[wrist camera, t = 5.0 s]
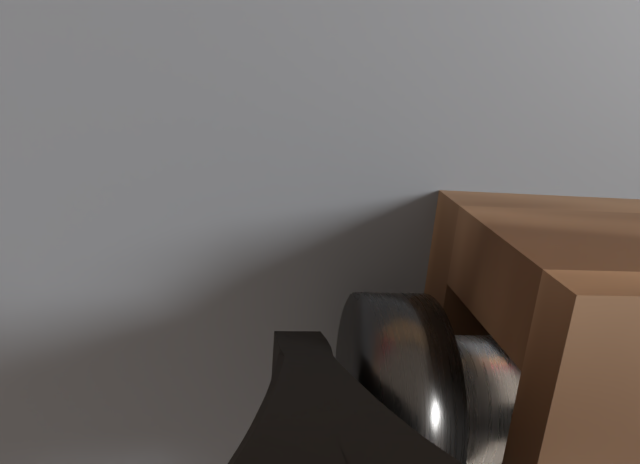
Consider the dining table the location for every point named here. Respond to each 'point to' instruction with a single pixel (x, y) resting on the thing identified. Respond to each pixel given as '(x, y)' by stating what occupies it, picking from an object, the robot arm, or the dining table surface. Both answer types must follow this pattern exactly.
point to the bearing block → (550, 314)
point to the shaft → (430, 372)
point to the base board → (260, 187)
